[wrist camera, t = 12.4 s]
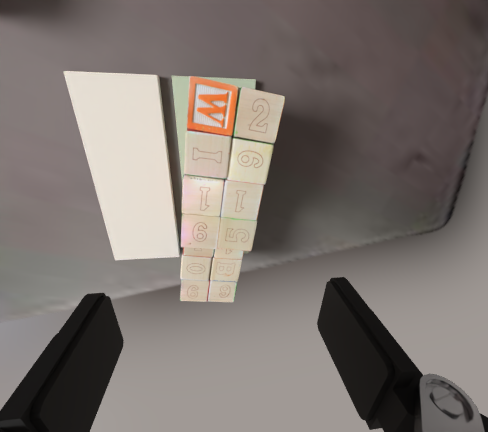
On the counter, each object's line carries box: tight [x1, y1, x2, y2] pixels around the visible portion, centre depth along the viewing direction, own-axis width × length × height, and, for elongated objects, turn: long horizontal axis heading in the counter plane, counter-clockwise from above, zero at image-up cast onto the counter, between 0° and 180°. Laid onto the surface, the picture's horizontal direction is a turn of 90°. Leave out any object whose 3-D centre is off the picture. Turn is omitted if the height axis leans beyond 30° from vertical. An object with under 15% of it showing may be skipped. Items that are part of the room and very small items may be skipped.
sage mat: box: [172, 76, 256, 254], centre depth 29 cm, size 9×23×1 cm, turn 179°
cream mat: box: [63, 71, 180, 260], centre depth 28 cm, size 9×23×1 cm, turn 179°
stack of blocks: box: [180, 76, 285, 302], centre depth 23 cm, size 21×6×12 cm, turn 170°
